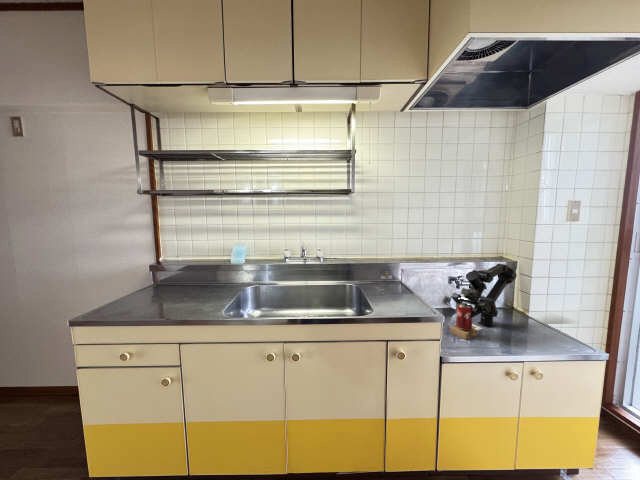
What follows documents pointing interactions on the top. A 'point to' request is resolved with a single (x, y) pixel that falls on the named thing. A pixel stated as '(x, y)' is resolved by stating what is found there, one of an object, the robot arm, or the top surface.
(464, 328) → the soda can
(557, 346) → the top surface
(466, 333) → the base brick
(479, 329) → the page
